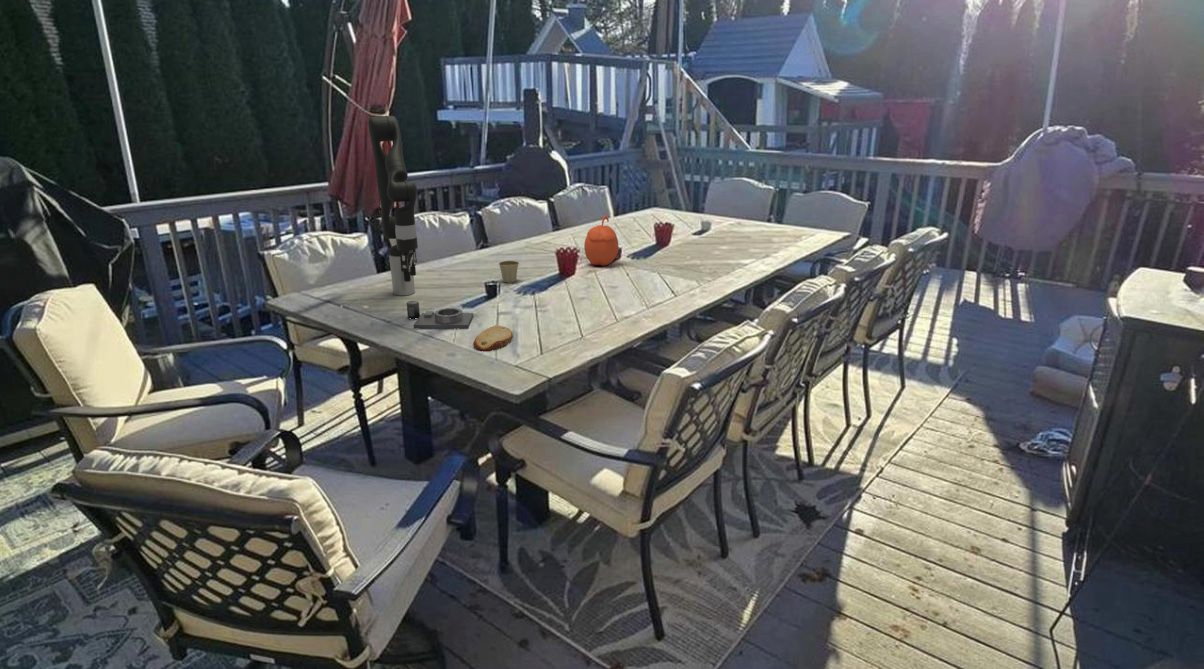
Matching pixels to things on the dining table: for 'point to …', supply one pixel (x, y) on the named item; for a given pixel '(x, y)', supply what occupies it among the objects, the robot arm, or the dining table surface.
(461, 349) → the dining table surface
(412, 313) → the domed grey cylinder
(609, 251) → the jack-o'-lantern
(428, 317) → the camera plate
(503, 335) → the slice of bread
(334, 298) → the dining table surface
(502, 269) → the flower pot
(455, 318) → the grey thick ring
